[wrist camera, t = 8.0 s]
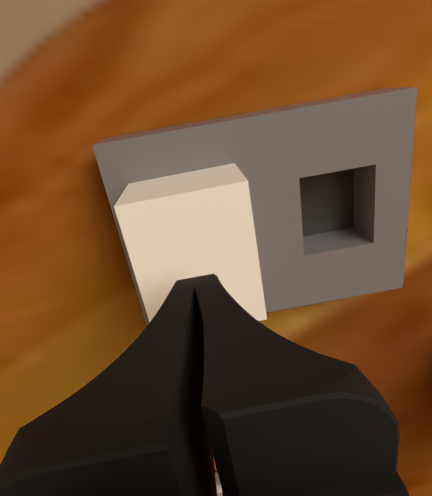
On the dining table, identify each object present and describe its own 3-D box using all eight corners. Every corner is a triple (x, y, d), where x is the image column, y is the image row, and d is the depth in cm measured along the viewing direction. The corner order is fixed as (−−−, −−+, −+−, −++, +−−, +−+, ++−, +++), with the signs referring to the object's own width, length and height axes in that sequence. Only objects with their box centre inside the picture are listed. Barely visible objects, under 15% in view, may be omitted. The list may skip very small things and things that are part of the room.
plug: (250, 292, 20) (272, 355, 15) (170, 307, 20) (166, 376, 15) (229, 156, 17) (248, 180, 12) (134, 174, 17) (113, 206, 12)
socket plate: (379, 266, 21) (402, 287, 19) (152, 308, 21) (148, 334, 19) (385, 87, 17) (417, 86, 15) (104, 138, 17) (91, 145, 15)
